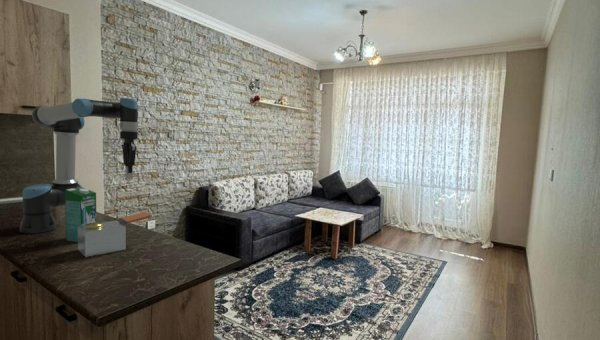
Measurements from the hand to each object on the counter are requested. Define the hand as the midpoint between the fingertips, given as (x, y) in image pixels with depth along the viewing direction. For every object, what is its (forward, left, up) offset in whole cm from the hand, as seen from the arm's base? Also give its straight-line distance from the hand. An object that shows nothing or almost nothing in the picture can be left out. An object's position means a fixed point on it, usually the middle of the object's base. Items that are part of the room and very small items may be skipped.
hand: (129, 179), depth 162 cm
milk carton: (-15, -17, -31) cm, 38 cm away
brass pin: (+7, -17, -30) cm, 36 cm away
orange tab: (+7, 0, -18) cm, 20 cm away
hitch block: (+7, -14, -30) cm, 34 cm away
